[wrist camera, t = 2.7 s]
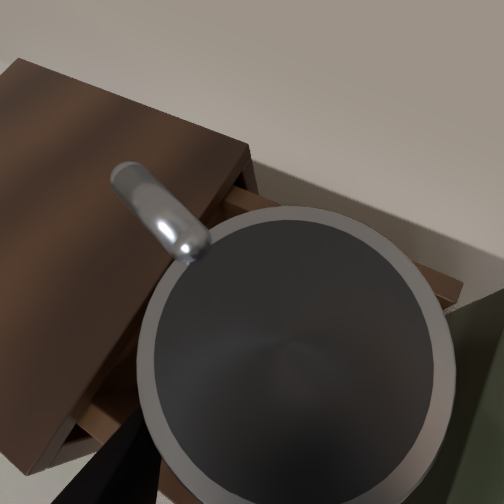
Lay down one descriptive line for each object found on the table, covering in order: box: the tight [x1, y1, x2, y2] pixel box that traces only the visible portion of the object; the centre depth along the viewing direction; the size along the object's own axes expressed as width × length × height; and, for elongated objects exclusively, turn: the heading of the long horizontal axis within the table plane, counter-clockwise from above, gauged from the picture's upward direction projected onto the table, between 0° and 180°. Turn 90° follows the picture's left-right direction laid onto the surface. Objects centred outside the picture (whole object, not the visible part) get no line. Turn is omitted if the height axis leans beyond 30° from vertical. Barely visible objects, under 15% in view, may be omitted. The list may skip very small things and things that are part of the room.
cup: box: [110, 161, 456, 504], centre depth 11 cm, size 9×6×10 cm
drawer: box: [77, 185, 504, 504], centre depth 13 cm, size 16×11×7 cm
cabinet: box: [0, 58, 259, 476], centre depth 17 cm, size 14×13×9 cm
